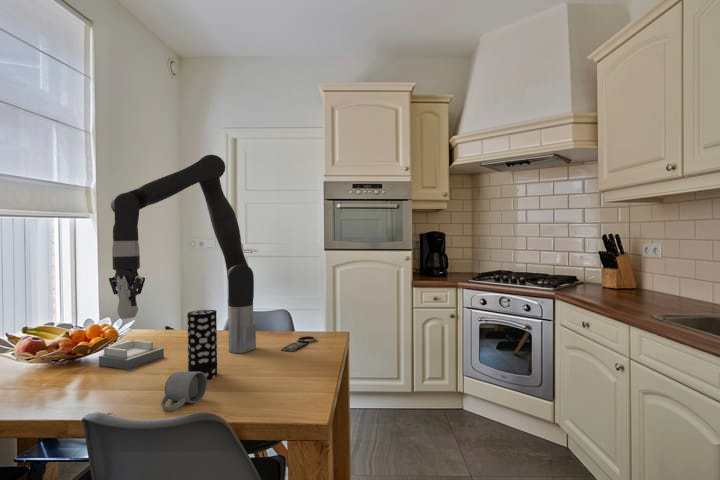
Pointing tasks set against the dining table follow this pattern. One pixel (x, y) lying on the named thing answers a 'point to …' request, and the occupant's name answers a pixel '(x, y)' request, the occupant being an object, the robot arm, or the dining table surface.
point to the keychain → (294, 346)
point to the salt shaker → (125, 303)
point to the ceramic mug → (184, 389)
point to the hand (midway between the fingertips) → (127, 307)
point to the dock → (130, 354)
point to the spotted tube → (202, 342)
